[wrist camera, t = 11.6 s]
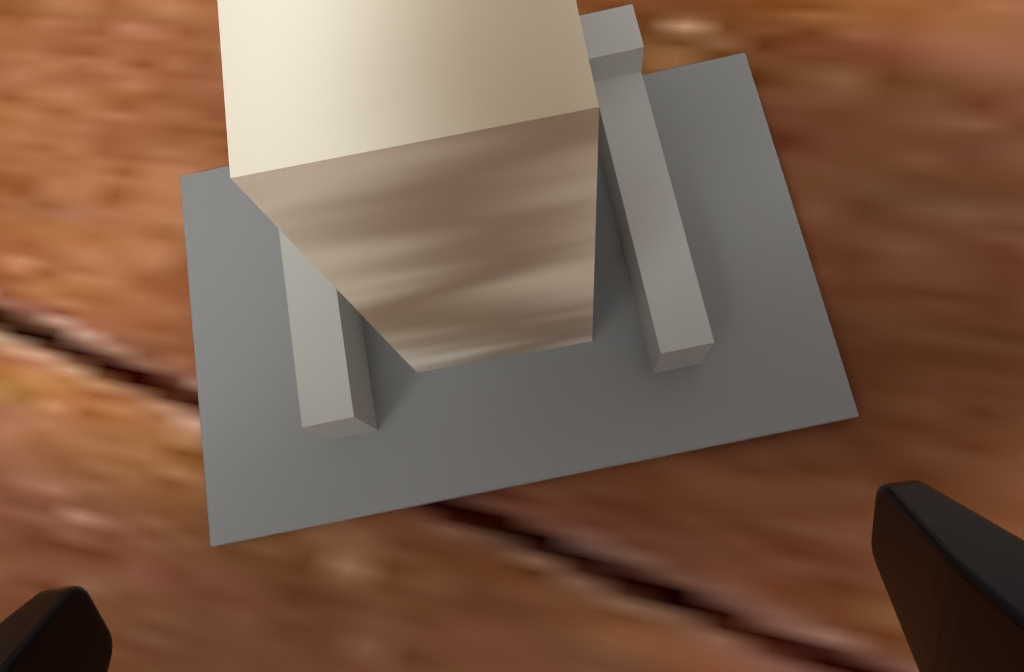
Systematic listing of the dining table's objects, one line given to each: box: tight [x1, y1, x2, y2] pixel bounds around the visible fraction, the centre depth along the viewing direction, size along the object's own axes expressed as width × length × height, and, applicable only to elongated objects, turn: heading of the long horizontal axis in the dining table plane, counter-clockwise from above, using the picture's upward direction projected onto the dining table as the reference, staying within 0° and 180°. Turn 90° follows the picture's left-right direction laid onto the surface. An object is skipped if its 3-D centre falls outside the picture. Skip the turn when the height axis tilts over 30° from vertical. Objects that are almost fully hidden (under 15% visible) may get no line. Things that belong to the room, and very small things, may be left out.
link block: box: [218, 0, 599, 373], centre depth 15 cm, size 4×5×11 cm
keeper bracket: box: [180, 4, 859, 547], centre depth 19 cm, size 16×10×4 cm, turn 101°
